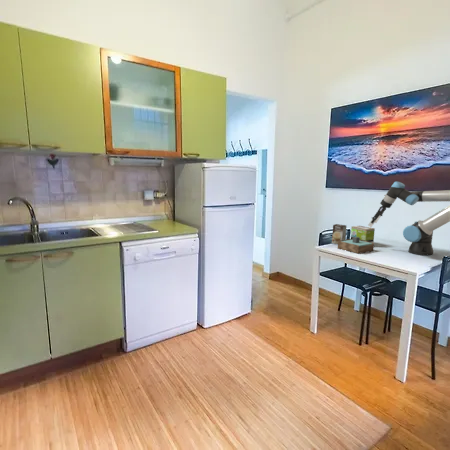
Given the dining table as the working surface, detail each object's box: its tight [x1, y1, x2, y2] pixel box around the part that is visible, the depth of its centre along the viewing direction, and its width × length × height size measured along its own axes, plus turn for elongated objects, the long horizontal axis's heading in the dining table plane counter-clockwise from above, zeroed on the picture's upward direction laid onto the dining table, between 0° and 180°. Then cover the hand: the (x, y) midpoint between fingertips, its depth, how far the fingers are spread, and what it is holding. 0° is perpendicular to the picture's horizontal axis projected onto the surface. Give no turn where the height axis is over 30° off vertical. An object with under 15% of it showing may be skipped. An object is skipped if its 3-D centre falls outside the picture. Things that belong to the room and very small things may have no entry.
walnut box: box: [337, 238, 375, 254], centre depth 217 cm, size 18×18×6 cm
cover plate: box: [342, 237, 372, 247], centre depth 217 cm, size 16×16×5 cm
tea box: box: [350, 225, 376, 243], centre depth 234 cm, size 15×10×15 cm, turn 25°
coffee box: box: [331, 223, 347, 245], centre depth 236 cm, size 9×6×16 cm
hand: (372, 224), depth 222 cm, fingers open, 13 cm apart
